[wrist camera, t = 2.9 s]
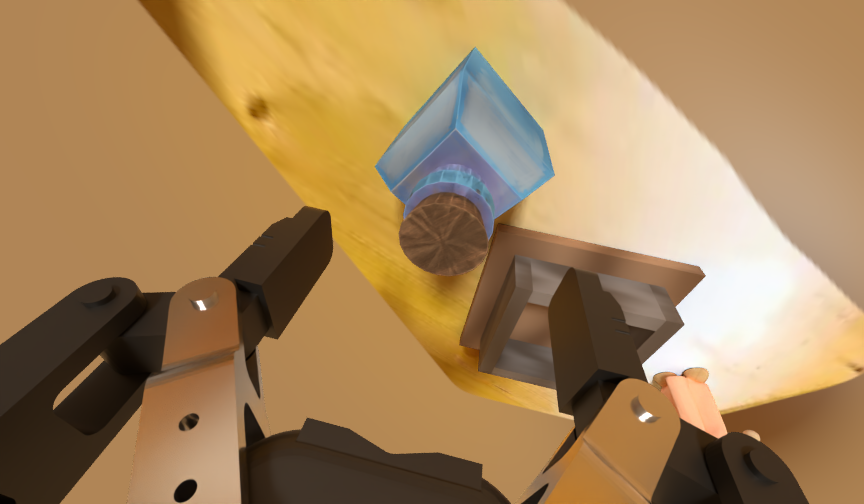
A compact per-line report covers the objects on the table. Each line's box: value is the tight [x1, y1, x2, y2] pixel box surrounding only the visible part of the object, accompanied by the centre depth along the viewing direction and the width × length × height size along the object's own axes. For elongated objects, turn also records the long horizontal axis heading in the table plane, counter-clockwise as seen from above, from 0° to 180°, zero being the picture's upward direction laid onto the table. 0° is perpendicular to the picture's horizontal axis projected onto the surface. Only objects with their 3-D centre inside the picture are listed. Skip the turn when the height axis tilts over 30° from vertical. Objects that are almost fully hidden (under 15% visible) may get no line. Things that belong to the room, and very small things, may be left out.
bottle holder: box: [460, 223, 705, 390], centre depth 27 cm, size 15×15×4 cm
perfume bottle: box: [375, 47, 555, 276], centre depth 16 cm, size 6×6×12 cm
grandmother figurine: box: [654, 368, 760, 441], centre depth 27 cm, size 8×4×13 cm, turn 134°
